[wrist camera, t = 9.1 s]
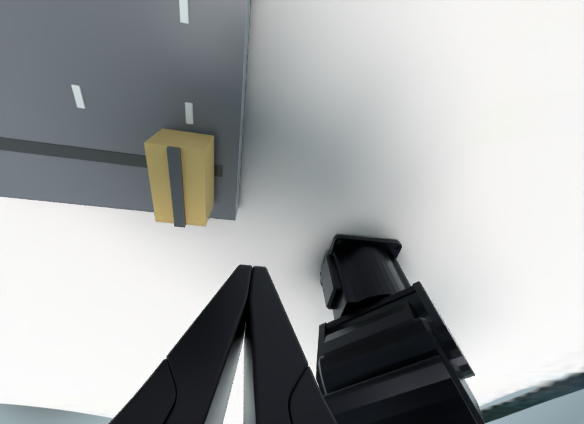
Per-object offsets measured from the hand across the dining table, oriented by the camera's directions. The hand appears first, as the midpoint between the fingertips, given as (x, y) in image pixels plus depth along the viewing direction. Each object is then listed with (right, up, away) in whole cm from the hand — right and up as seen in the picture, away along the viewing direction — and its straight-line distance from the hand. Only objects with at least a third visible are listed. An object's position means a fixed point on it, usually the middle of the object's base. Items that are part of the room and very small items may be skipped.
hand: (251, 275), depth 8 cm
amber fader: (-5, +5, +9) cm, 11 cm away
